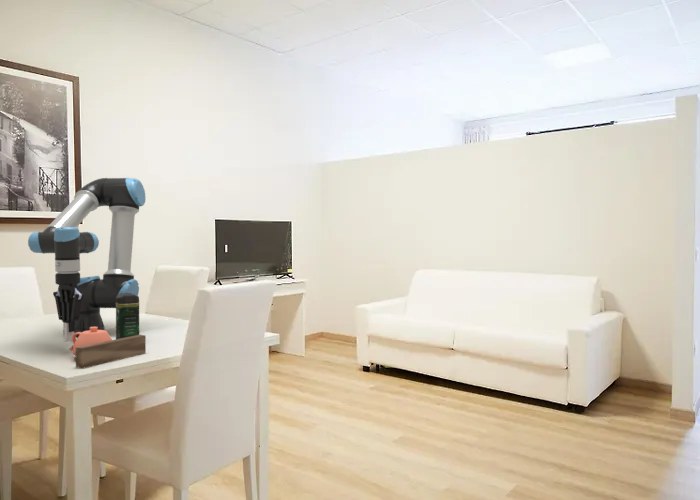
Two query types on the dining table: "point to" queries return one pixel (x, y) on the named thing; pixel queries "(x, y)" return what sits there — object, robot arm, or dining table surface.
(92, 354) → the board
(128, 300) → the coffee jar
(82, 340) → the sugar bowl
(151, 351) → the dining table surface
